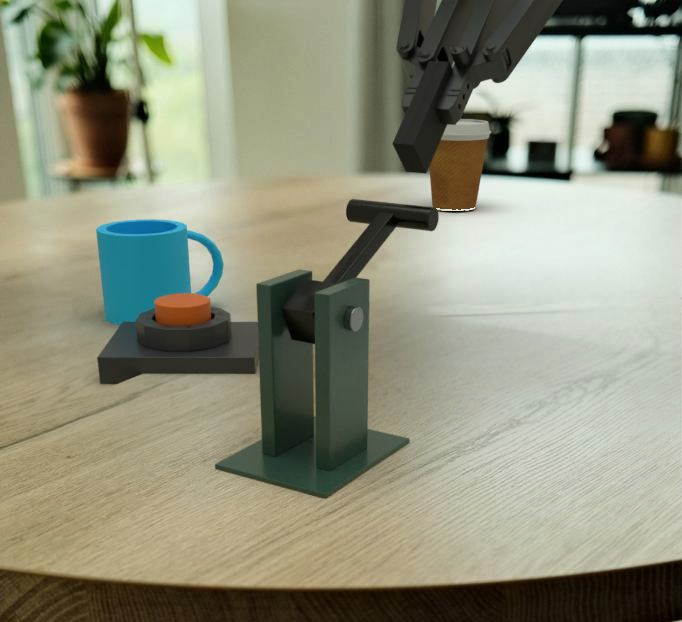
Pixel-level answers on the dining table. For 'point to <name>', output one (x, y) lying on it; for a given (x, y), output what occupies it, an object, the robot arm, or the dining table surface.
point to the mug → (147, 265)
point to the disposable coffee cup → (459, 165)
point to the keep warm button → (182, 309)
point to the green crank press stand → (298, 393)
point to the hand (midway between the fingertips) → (409, 158)
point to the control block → (179, 348)
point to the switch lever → (354, 256)
